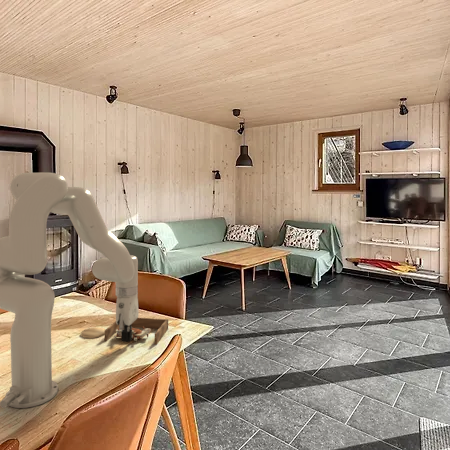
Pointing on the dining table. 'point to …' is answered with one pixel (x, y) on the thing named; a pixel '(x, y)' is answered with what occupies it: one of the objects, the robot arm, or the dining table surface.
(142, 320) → the walnut tray
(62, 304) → the dining table surface
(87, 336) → the oak coaster
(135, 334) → the bull figurine
